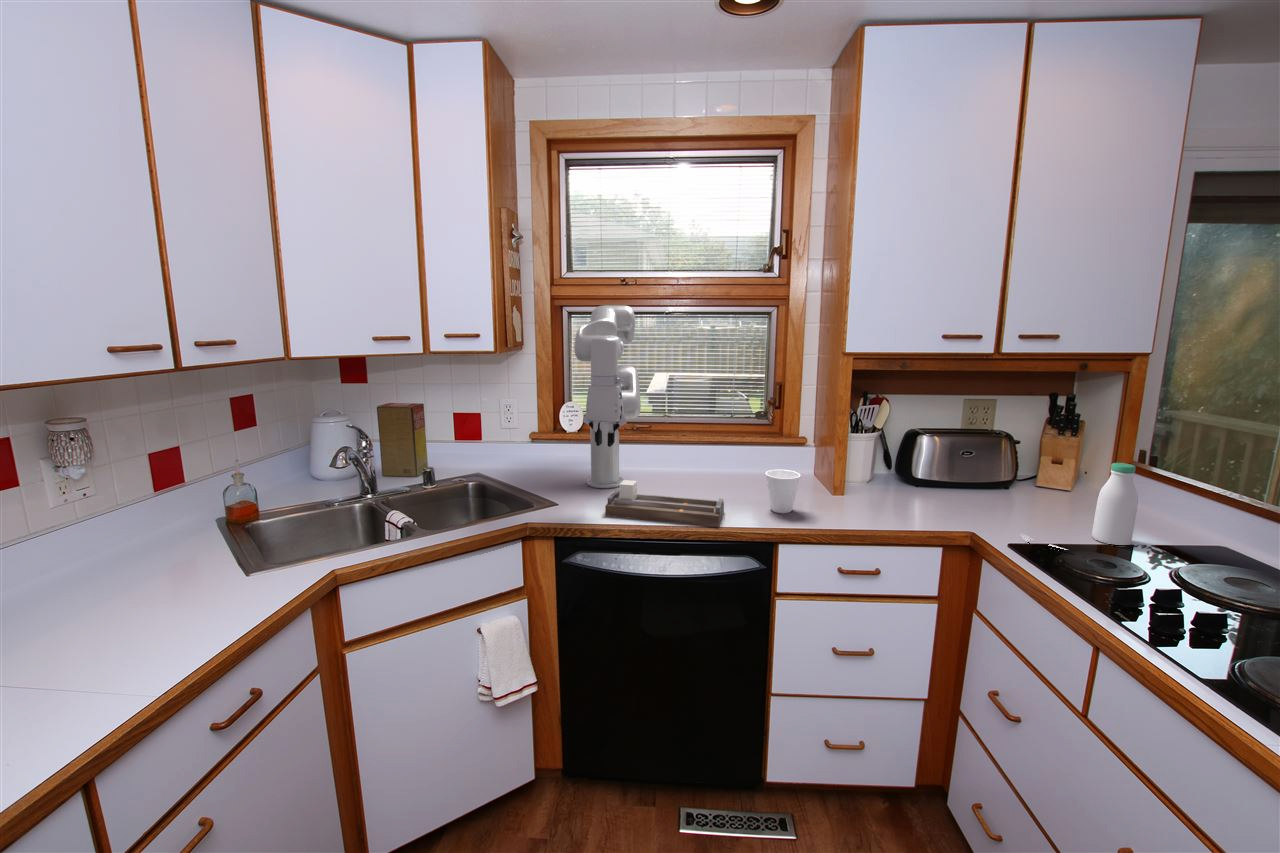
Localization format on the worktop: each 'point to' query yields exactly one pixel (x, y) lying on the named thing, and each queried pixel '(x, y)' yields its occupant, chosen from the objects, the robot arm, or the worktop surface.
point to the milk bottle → (1116, 507)
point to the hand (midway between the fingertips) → (604, 444)
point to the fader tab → (628, 490)
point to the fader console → (666, 509)
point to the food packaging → (402, 439)
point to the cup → (782, 489)
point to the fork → (1032, 539)
